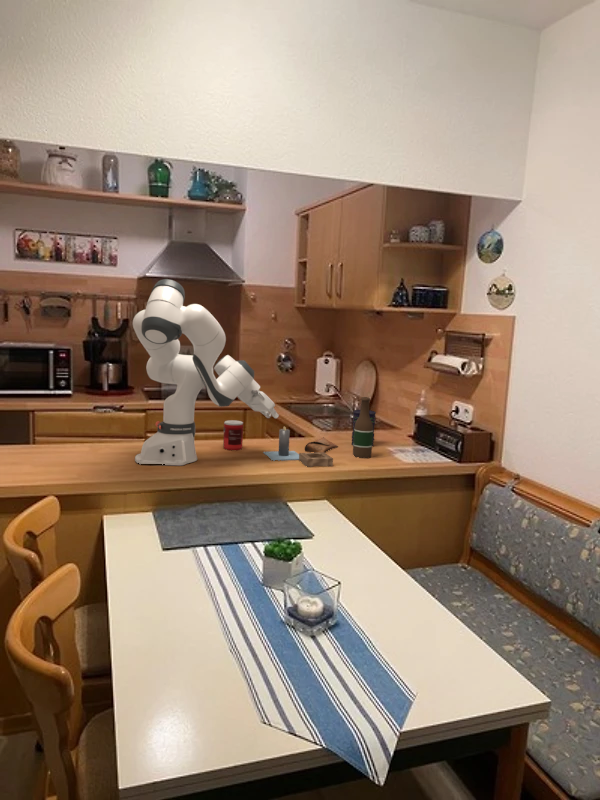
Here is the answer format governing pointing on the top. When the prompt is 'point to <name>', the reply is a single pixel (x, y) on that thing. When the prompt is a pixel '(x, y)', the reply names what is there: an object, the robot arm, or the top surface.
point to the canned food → (233, 435)
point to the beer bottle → (363, 432)
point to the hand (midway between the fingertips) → (273, 417)
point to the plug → (284, 442)
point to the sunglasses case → (319, 446)
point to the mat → (274, 456)
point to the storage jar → (356, 416)
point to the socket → (315, 459)
